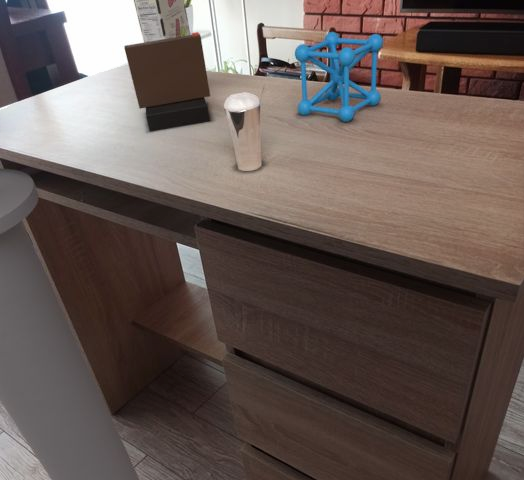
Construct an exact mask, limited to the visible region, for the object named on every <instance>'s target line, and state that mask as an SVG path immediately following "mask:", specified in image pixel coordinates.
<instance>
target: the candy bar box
mask: <svg viewBox="0 0 524 480" xmlns="http://www.w3.org/2000/svg"><path fill="white" fill-rule="evenodd" d="M185 2H186V1H185V0H133V4H134V7H135V11H136V14H137V20H138V23H139V28H140V33H141V37H142V41H143V43H144V42H150V41H157V40H163V39H169V38H175V37H181V36H187V35H191V31H190V25H189V20H188V19H189V18H188V13H187V9H186V3H185Z"/></svg>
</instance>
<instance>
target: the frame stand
mask: <svg viewBox="0 0 524 480" xmlns="http://www.w3.org/2000/svg"><path fill="white" fill-rule="evenodd" d="M205 98H206V97H204V98H198V99H192V100H186V101H181V102H175V103H169V104H163V105H157V106H152V107H146V108H145V117H146V121H147V127H148V130H149V132H153V131H154V132H155V131H160V130H166V129H171V128H172V129H173V128H177V127H183V126H189V125H194V124H200V123H206V122H210V113H209V108H208V103H207V101H206V99H205Z"/></svg>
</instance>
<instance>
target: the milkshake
mask: <svg viewBox="0 0 524 480" xmlns="http://www.w3.org/2000/svg"><path fill="white" fill-rule="evenodd" d="M265 87H266V84H264V85H263V87H262V90H261V91H262V92H261V95H260V98H259V97H258V96H257V95H256V94H253V93H251V92H247V91H243V92H240V93H232V94H230V95H229V96H228V97H227V98H226V99H225V101H224V104H223V108H224V113H225V117H226V120H227V121H226V122H227V125H228V129H229V131H230V135H231V136H230V137H231V141H232V146H233V151H234V155H235V160H236V164H237V169H238V170H239V171H242V172H251V171H256V170H258V169H259V168H261V167H262V141H261V139H262V138H261V100H262V96H263V93H264V89H265Z"/></svg>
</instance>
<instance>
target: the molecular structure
mask: <svg viewBox="0 0 524 480" xmlns="http://www.w3.org/2000/svg"><path fill="white" fill-rule="evenodd" d="M383 44H384V40H383V37H382V35H380V34H379V33H374V34H372V35H370V36H369V37H368V38H367V39H359V38H358V39H357V38H343V37H339V34H338V33H337V32H335V31H330V32H328V33H326V35H325V37H324V39H323V41H321V42H319V43H316V44H314V45H312V46H309V45H307V44H305V43H301V44H299V45H298V46H296V48H295V50H294V57H295V59H296V60H297V62H299V63H300V76H301V77H300V78H301V79H300V80H301V97H302V100H301V101H299V103H298V105H297V111H298V114H300V115H301V116H304V117H305V116H308V115H310V114H311V113H312V112H314V113H323V114H327V115H335V116H338V118H339V120H340V121H341V122H344V123H349V122H351V121H352V120H353V119H354V116H355V112H357V111H358V110H360V109H362V108H363V107H365V106H367V105H368V106H370V107H376V106H377V105H378V104H379V103H380V101H381V98H382V97H381V96H382V95H381V93H380V92H379V90H377V65H378V51H380V50H381V49H382V48H383ZM339 45H353V46H354V45H355V46H356V45H357V46H360V47H357V48H355V49H353V48H351V47H349V46H346V47H343V48H342V49H340V50H339V52H337V47H338V46H339ZM324 47H326V48H327V49H329V52H328V51H317V50H320V49H322V48H324ZM370 52H371V77H370V90H369V91H368V90H366V89H365V88H363V87H361V86H360V85H359V84H357V83H355V82H354V81H352V80H350V70H352V69H353V68H354V67H355V66H356V65H357V64H358V63H359V62H360V61H361V60H362V59H363V58H364V57H366V56H367V55H368V54H369V53H370ZM317 58H319V59H321V58H323V59H329V65H327V64H325V63H324V62H322V61H321V60H319V59H317ZM307 61H308V62H310V63H312V64H313V65H315V66H317V68H320V69H322V70H323V71H324V72H326V73H328V74H329V81H328V82H327V83H326V84H325V85H324V86H323V87H322V88H321V89H320V90H319V91H317V93H315V95H314V96H312V97H311V98H310V99H308V89H307V88H308V87H307V65H306V62H307ZM350 88H351V89H353V90H355V91H356V92H358V93H356V92H350ZM338 98H340V102H341V107H340V108H339V109H337V108H329V107H323V106H316V105H318V104H320V103H322V102H323V101H325V100H328V101H330V102H333V101H336V100H337V99H338ZM350 99H358V100H362V101H361V102H359V103H357V104H356V105H353V106H351V105H350Z"/></svg>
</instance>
